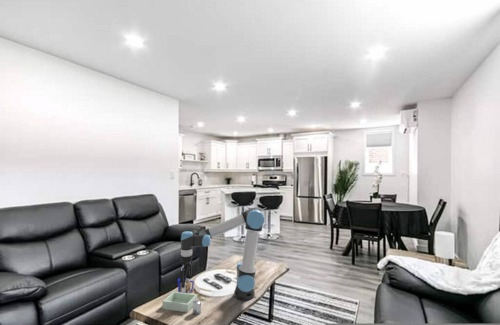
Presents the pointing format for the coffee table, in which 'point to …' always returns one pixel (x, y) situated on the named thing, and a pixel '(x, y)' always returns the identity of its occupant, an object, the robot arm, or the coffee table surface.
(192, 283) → the mug
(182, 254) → the robot arm
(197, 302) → the canister
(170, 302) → the tote
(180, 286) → the walnut block
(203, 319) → the coffee table surface
